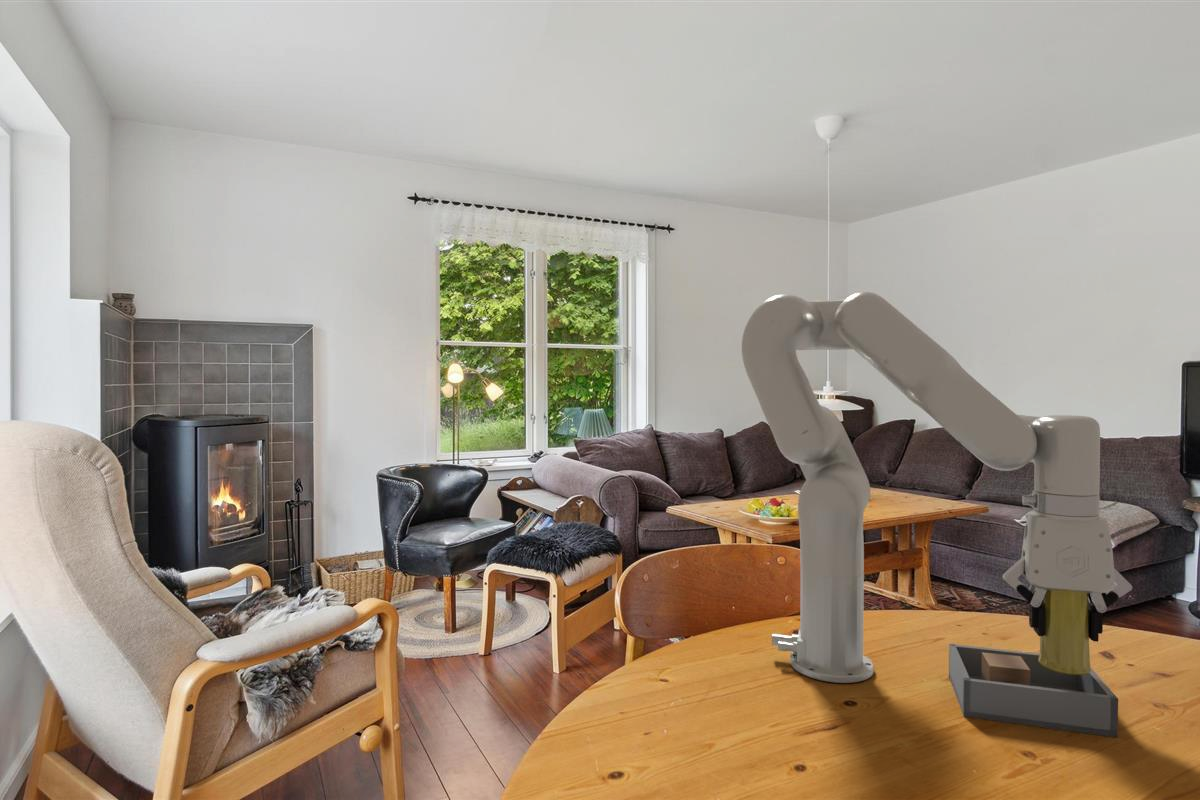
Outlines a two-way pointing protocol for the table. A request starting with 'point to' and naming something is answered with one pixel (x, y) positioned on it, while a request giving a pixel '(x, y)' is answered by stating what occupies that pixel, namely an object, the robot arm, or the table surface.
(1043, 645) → the vase
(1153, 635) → the table surface
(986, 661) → the walnut cube
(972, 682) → the tote
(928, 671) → the table surface
